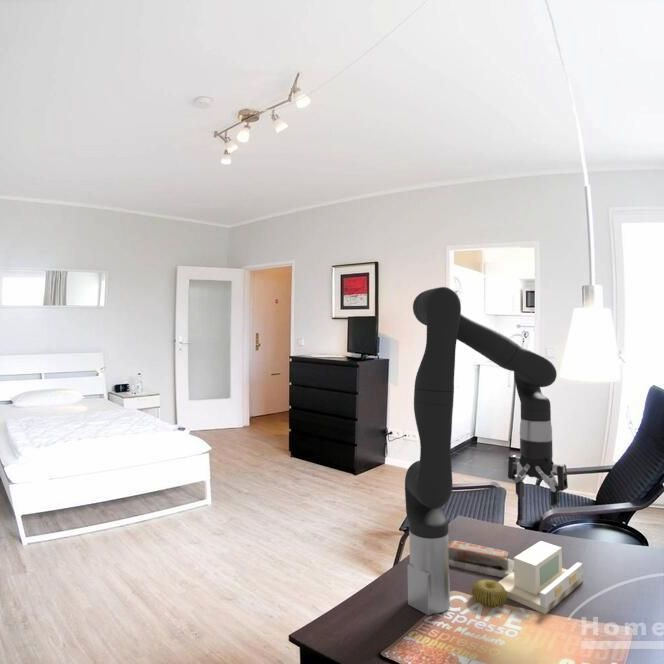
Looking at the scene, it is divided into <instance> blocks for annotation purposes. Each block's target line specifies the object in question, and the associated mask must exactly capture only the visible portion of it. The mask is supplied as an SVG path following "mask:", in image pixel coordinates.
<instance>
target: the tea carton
mask: <svg viewBox="0 0 664 664" xmlns="http://www.w3.org/2000/svg"><path fill="white" fill-rule="evenodd" d="M562 548H563V547H562V546H559V545H555V544H551V543H549V542H546V541H542V540H540V541H538V542H536V543H534V544H533V545H532V546H530V547H528V548H527V549H525V550H524V551H522V552H520V553H519V554H517V555H516V556H514V557H513V560H514V586H516V587H518V588H520V589H523V590H525V591H528V592H530V593H532V594H535V595H537V594H538V593H540V592H541V591H542V590H543V589H545V588H546V587H547V586H548V585H550V584H551V583H552V582H553V581H555V580H556V579H557V578H558V577H560V576H561V575H562V568H563V552H562V551H563V549H562Z"/></svg>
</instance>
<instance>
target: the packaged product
mask: <svg viewBox="0 0 664 664" xmlns="http://www.w3.org/2000/svg"><path fill="white" fill-rule="evenodd" d="M509 555H510V552H509V551H506V550H503V549H502V550H501V549H498V548H493V547H489V546H484V545H479V544H474V543H470V542H465V541H460V540H451V541H450V542H449V565H450V566H449V567H453V566H454V567H455V568H457V567H458V569H461V570H466V571H471V572H474V571H475V573H480V574H482V575H488V576H493V577H497V578H502V579H503V578H505V577H506V576H508V575H509V574H510V573H512V572H513V571H514V559H510V558H509ZM454 567H453V568H454Z"/></svg>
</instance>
